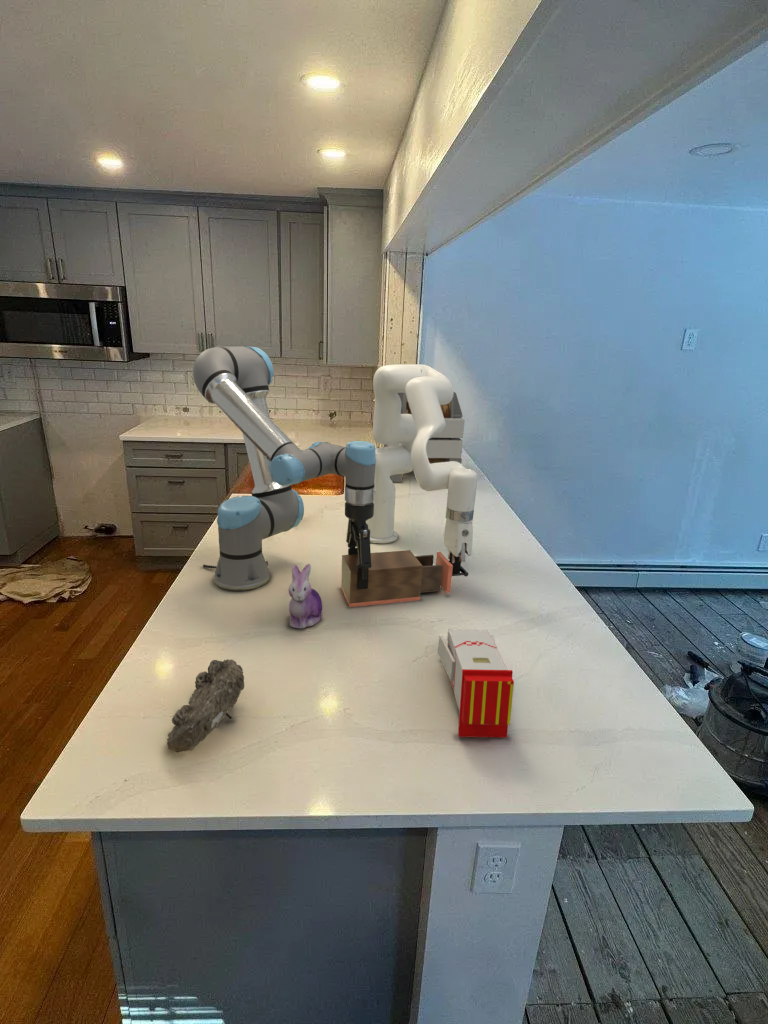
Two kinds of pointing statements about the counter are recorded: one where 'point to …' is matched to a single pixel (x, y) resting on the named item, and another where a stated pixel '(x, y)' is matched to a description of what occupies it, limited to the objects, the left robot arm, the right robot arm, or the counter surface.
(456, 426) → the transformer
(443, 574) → the drawer
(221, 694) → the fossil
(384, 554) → the cabinet
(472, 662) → the toy
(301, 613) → the figurine
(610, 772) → the counter surface
